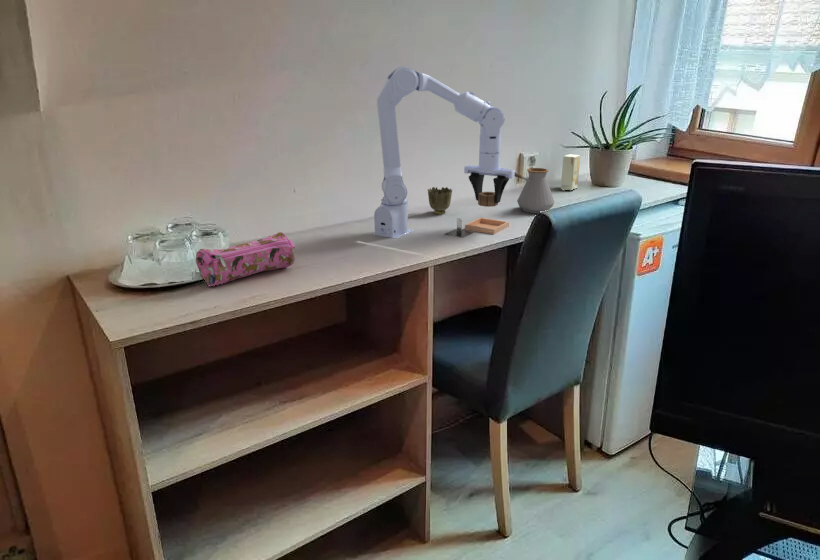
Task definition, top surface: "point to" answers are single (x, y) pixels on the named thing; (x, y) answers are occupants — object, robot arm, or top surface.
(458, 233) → the stand
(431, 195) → the cup
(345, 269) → the top surface
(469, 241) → the top surface
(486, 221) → the dish
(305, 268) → the top surface
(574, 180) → the skincare box
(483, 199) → the ring
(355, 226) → the top surface
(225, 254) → the pencil case
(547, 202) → the coffee pot
